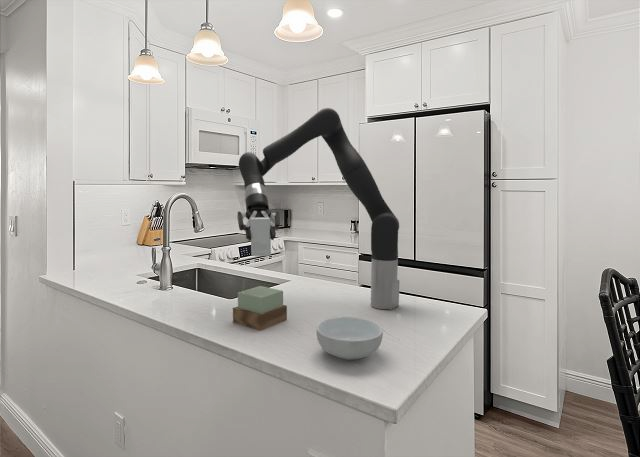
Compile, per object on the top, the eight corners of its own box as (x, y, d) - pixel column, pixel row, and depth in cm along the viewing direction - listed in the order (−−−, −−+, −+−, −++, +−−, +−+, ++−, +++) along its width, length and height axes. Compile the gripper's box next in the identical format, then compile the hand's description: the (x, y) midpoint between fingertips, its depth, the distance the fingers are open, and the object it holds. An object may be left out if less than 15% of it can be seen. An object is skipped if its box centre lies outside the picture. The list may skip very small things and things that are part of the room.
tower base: (286, 320, 130) (286, 305, 129) (260, 331, 120) (260, 315, 119) (259, 313, 136) (259, 299, 136) (233, 323, 127) (232, 308, 126)
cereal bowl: (308, 363, 98) (308, 335, 98) (325, 338, 114) (325, 314, 114) (377, 372, 94) (378, 343, 93) (385, 345, 110) (386, 319, 109)
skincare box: (271, 254, 132) (271, 217, 131) (269, 256, 128) (269, 218, 126) (252, 253, 132) (251, 217, 130) (250, 256, 127) (249, 218, 126)
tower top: (283, 306, 129) (283, 290, 128) (261, 314, 121) (261, 297, 120) (260, 300, 134) (260, 285, 134) (238, 308, 126) (237, 292, 126)
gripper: (235, 192, 132) (239, 232, 123) (278, 192, 136) (285, 231, 127) (234, 207, 138) (237, 246, 128) (275, 206, 142) (282, 245, 132)
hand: (261, 238), depth 127 cm, fingers closed on skincare box, 6 cm apart
